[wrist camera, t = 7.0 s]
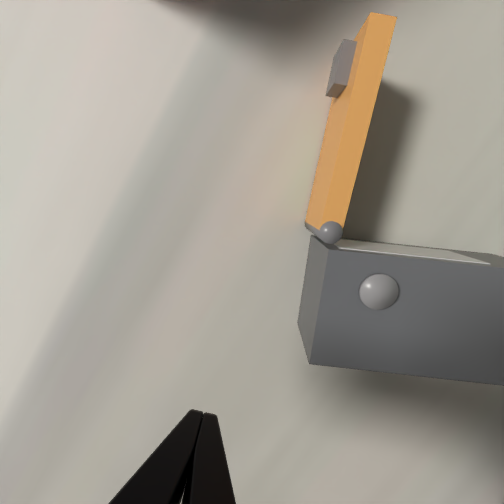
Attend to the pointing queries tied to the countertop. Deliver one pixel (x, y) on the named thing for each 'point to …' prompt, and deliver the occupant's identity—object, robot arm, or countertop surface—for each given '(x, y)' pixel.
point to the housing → (404, 310)
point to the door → (347, 124)
